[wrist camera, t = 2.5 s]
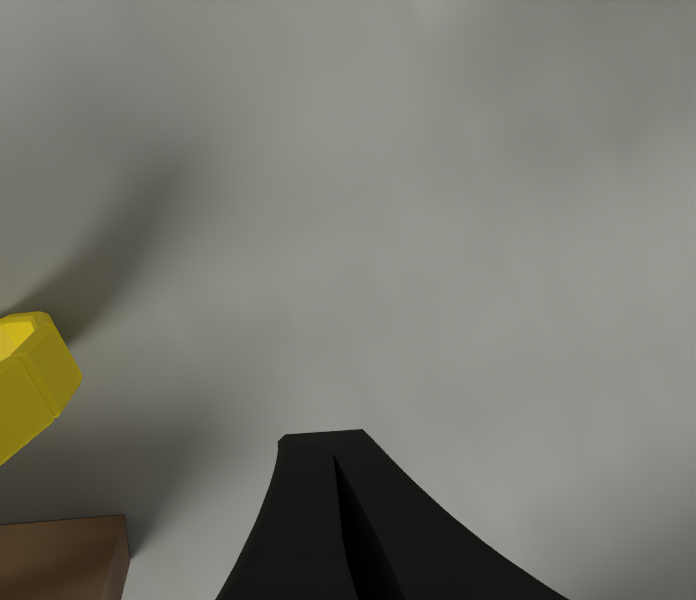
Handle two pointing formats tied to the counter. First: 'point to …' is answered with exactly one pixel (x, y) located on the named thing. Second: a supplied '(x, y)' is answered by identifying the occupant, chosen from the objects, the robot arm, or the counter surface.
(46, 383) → the watch
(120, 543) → the wooden u-shaped block
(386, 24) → the counter surface
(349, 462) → the robot arm
